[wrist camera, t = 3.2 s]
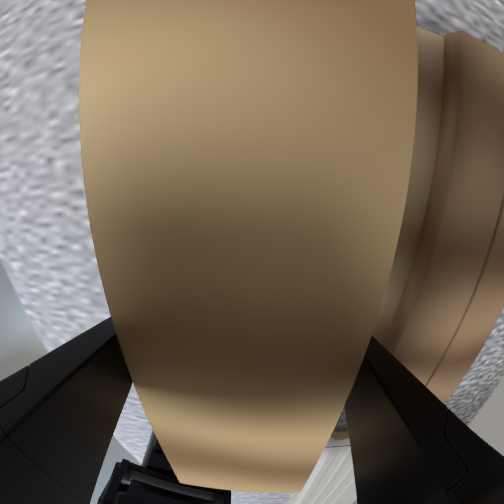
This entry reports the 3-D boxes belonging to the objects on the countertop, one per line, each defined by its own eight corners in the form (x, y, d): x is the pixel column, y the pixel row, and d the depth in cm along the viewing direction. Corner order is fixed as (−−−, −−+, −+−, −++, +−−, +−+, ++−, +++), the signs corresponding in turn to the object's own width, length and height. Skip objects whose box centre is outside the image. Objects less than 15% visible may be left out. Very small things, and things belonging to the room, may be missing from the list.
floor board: (435, 376, 19) (446, 403, 17) (339, 382, 19) (344, 413, 17) (521, 84, 9) (552, 86, 7) (407, 32, 10) (434, 18, 7)
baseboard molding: (276, 506, 37) (344, 503, 36) (275, 520, 34) (345, 516, 34) (302, 426, 23) (419, 415, 23) (302, 453, 21) (426, 438, 20)
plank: (299, 445, 13) (300, 492, 10) (190, 437, 13) (180, 482, 10) (365, -10, 5) (405, -57, 2) (149, -11, 5) (96, -50, 3)
